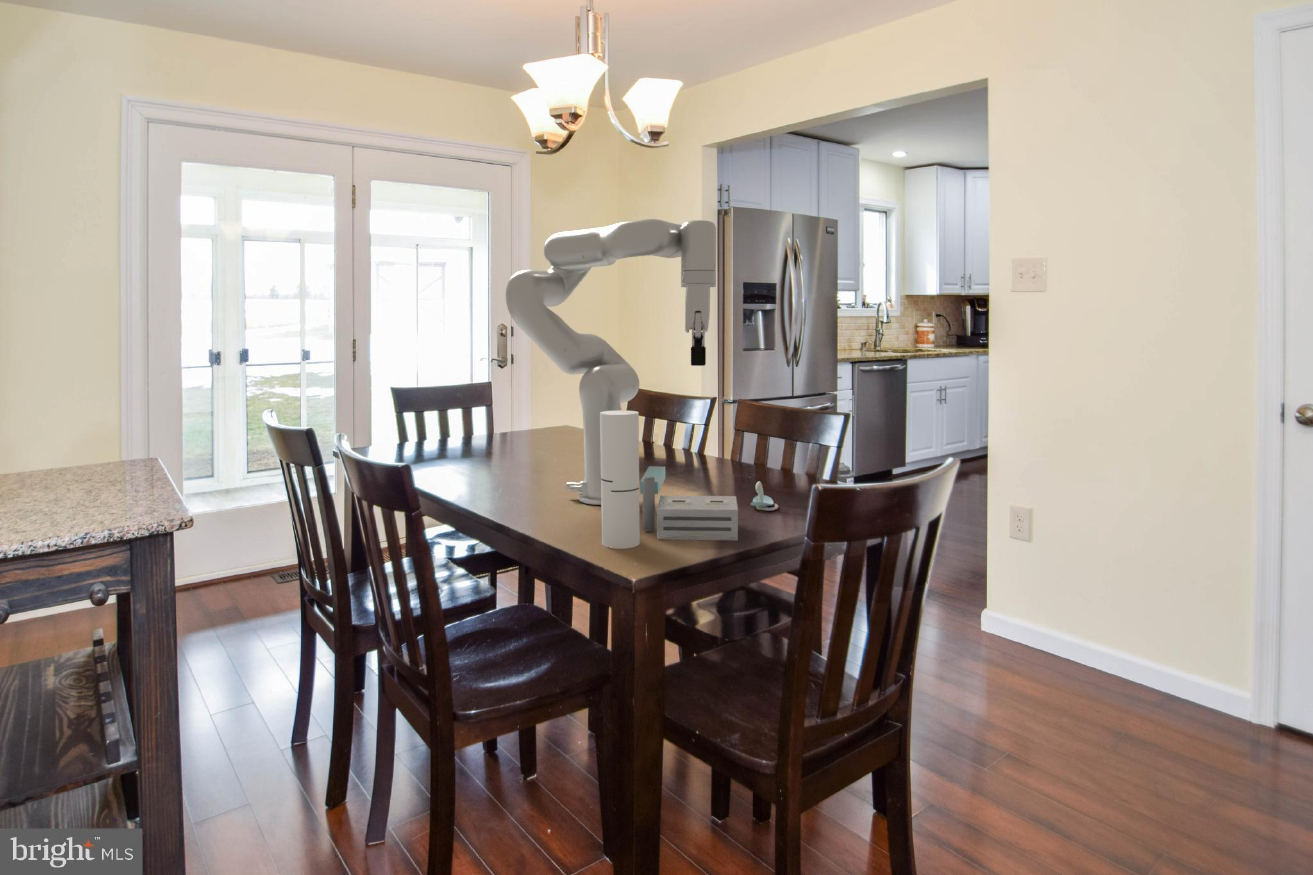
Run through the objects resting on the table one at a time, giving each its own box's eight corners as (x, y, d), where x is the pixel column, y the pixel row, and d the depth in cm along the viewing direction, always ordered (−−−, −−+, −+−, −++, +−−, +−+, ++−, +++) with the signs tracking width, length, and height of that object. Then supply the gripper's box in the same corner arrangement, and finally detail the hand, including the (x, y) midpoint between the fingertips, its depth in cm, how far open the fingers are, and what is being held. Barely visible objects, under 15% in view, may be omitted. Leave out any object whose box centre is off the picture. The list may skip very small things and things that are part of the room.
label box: (657, 539, 154) (656, 507, 153) (660, 523, 166) (660, 493, 165) (737, 540, 153) (738, 508, 152) (735, 524, 165) (735, 494, 164)
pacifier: (779, 506, 183) (753, 504, 184) (781, 479, 182) (754, 477, 183) (776, 513, 176) (749, 511, 177) (778, 486, 175) (750, 483, 176)
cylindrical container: (617, 536, 157) (615, 409, 153) (647, 542, 153) (646, 411, 149) (594, 544, 151) (592, 413, 147) (624, 550, 147) (623, 415, 143)
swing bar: (657, 531, 159) (657, 478, 158) (639, 531, 159) (638, 478, 158) (665, 509, 178) (665, 462, 176) (649, 509, 178) (649, 461, 176)
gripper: (682, 281, 180) (682, 363, 183) (679, 278, 165) (679, 367, 168) (715, 281, 179) (715, 363, 182) (716, 278, 165) (715, 367, 167)
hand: (698, 365), depth 175 cm, fingers closed
